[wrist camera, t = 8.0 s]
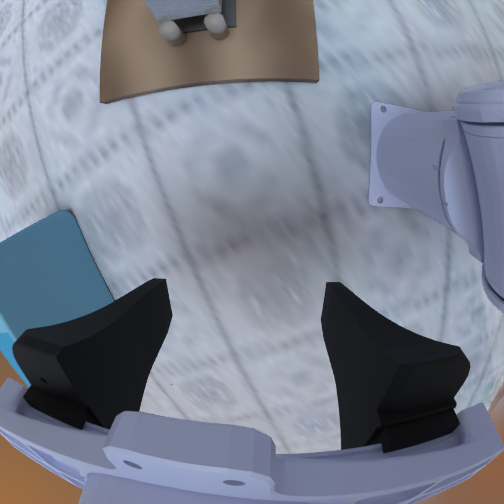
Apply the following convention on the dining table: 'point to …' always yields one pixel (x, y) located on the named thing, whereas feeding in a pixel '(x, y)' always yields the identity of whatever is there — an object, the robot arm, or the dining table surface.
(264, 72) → the pin tray
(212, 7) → the block
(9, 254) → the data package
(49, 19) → the dining table surface
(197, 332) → the dining table surface
